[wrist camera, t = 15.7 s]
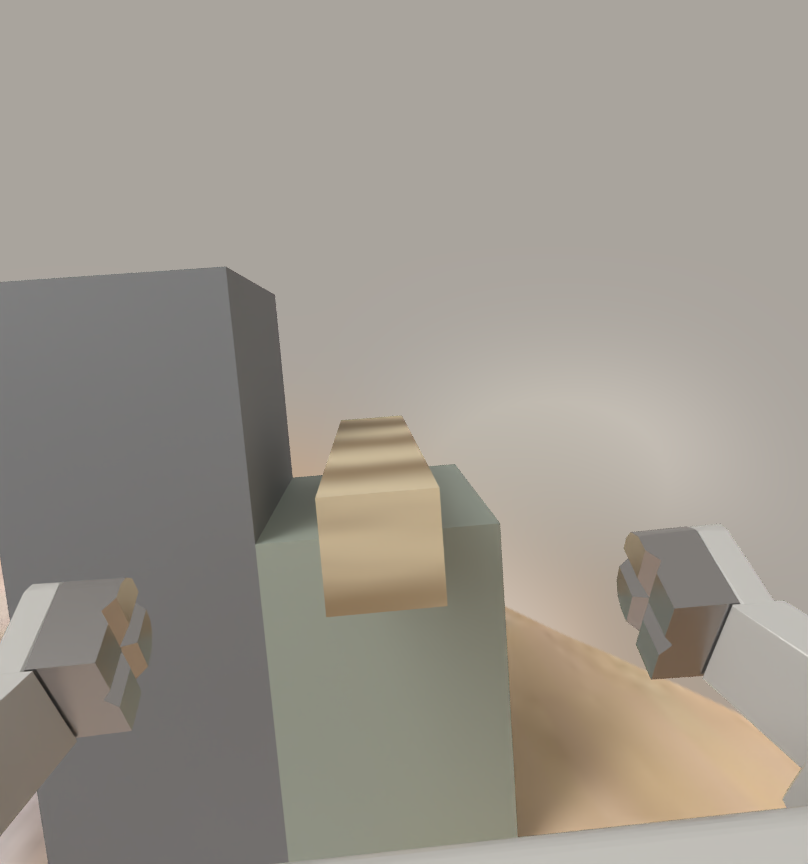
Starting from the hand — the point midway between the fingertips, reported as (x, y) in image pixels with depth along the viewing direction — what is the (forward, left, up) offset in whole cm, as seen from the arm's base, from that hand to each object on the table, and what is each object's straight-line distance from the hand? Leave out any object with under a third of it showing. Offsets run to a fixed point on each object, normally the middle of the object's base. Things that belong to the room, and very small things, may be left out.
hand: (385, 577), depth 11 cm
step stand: (-20, +13, -19) cm, 30 cm away
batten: (-13, +12, -4) cm, 18 cm away
